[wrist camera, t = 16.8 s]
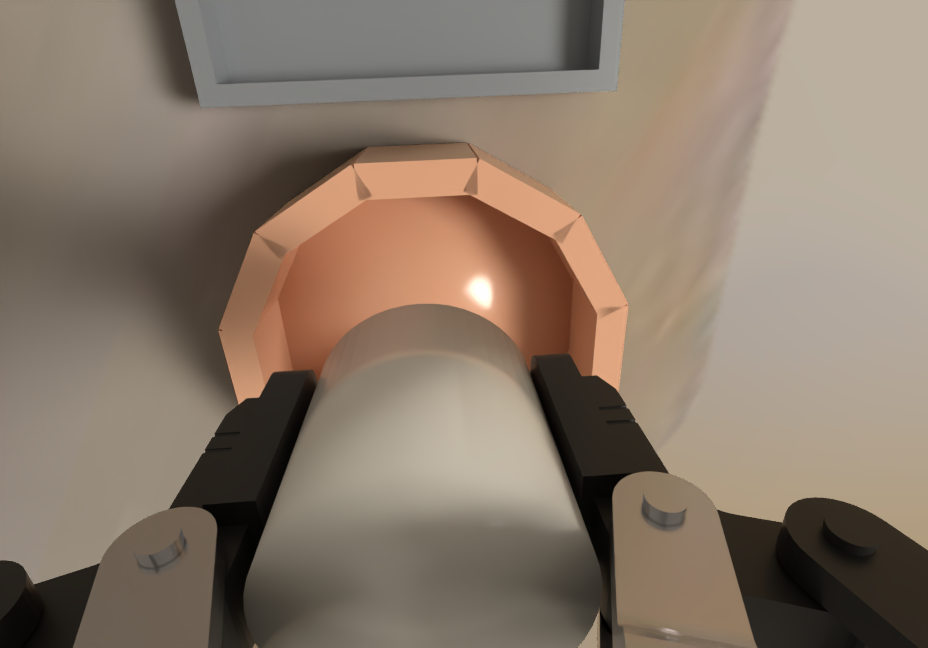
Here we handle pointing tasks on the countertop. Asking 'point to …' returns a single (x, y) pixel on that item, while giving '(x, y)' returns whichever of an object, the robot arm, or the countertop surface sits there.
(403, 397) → the cream rounded piece
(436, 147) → the bowl
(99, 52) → the countertop surface
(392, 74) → the tray
